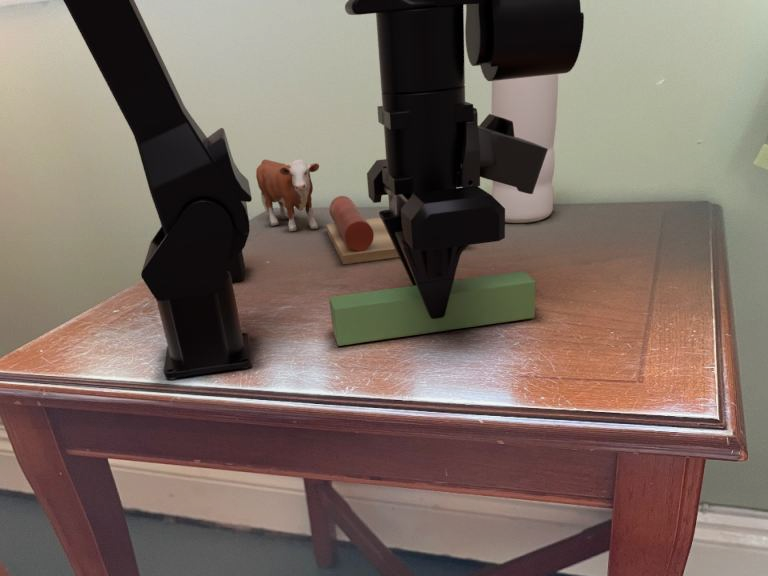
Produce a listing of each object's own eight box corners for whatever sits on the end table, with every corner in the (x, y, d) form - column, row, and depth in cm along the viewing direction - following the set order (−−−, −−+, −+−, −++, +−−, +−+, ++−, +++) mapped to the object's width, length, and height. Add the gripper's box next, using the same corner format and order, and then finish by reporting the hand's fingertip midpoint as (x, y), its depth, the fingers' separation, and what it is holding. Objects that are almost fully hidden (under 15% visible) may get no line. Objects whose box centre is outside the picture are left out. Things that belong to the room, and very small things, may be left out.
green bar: (535, 318, 61) (536, 281, 60) (337, 346, 59) (333, 308, 58) (522, 306, 64) (523, 270, 62) (333, 333, 62) (328, 296, 60)
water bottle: (509, 207, 93) (512, -45, 79) (562, 211, 90) (576, -53, 76) (480, 221, 89) (478, -44, 75) (535, 226, 85) (544, -52, 71)
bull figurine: (300, 240, 88) (289, 164, 83) (257, 221, 98) (246, 151, 93) (334, 233, 90) (325, 158, 85) (289, 214, 100) (279, 146, 95)
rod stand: (465, 248, 80) (465, 208, 78) (343, 264, 78) (338, 224, 76) (434, 219, 91) (433, 183, 89) (327, 232, 90) (323, 197, 88)
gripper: (589, 86, 45) (573, 337, 54) (495, 69, 61) (495, 266, 69) (406, 106, 44) (420, 360, 53) (358, 83, 60) (375, 282, 68)
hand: (432, 311), depth 61 cm, fingers closed on green bar, 3 cm apart
